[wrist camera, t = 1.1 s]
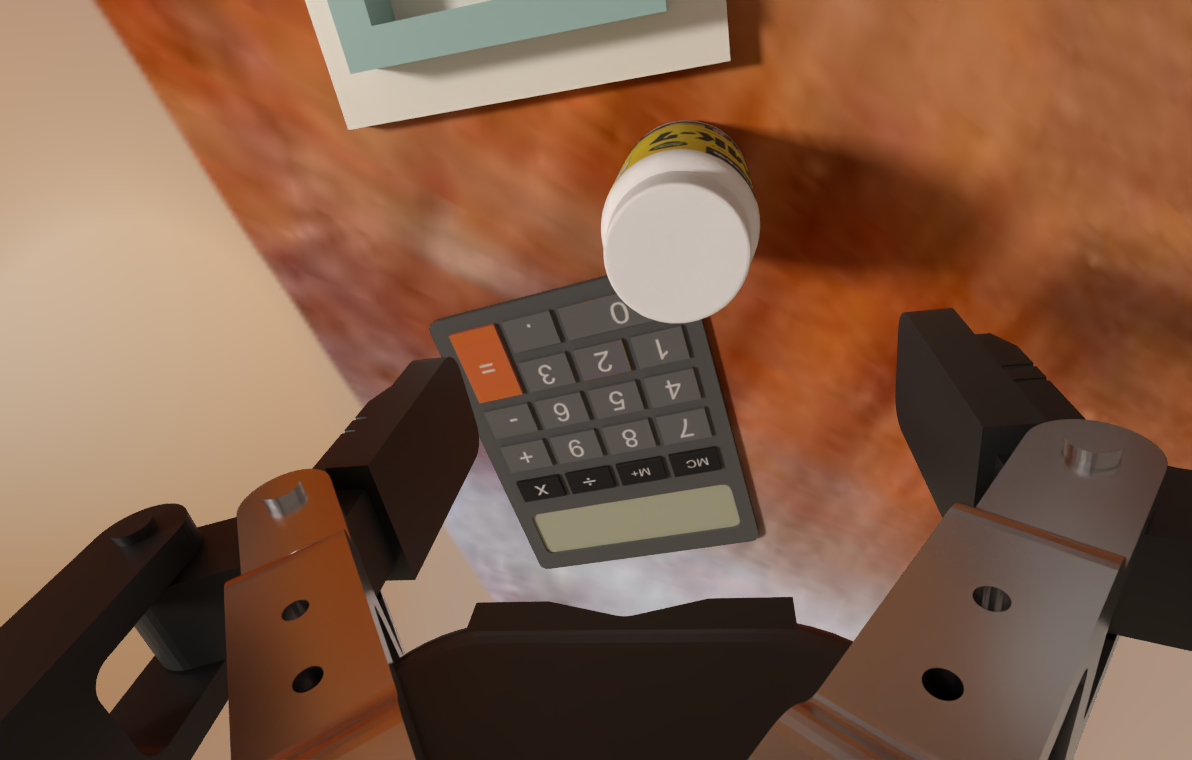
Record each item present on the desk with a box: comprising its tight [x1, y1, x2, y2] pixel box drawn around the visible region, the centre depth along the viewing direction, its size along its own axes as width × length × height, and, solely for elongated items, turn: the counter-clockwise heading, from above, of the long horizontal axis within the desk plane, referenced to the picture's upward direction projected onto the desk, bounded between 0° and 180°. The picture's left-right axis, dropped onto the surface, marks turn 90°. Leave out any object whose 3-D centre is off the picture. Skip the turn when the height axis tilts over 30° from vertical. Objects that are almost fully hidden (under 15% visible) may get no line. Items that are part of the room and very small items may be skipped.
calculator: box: [429, 275, 758, 569], centre depth 31 cm, size 12×1×15 cm
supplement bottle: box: [601, 120, 760, 323], centre depth 21 cm, size 5×5×8 cm
